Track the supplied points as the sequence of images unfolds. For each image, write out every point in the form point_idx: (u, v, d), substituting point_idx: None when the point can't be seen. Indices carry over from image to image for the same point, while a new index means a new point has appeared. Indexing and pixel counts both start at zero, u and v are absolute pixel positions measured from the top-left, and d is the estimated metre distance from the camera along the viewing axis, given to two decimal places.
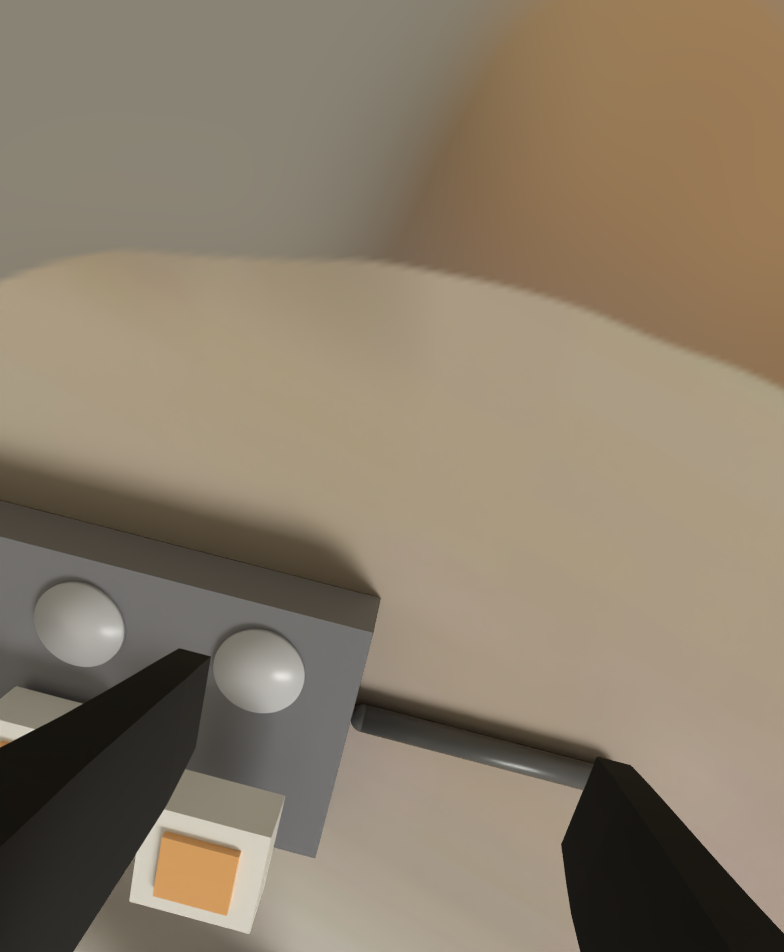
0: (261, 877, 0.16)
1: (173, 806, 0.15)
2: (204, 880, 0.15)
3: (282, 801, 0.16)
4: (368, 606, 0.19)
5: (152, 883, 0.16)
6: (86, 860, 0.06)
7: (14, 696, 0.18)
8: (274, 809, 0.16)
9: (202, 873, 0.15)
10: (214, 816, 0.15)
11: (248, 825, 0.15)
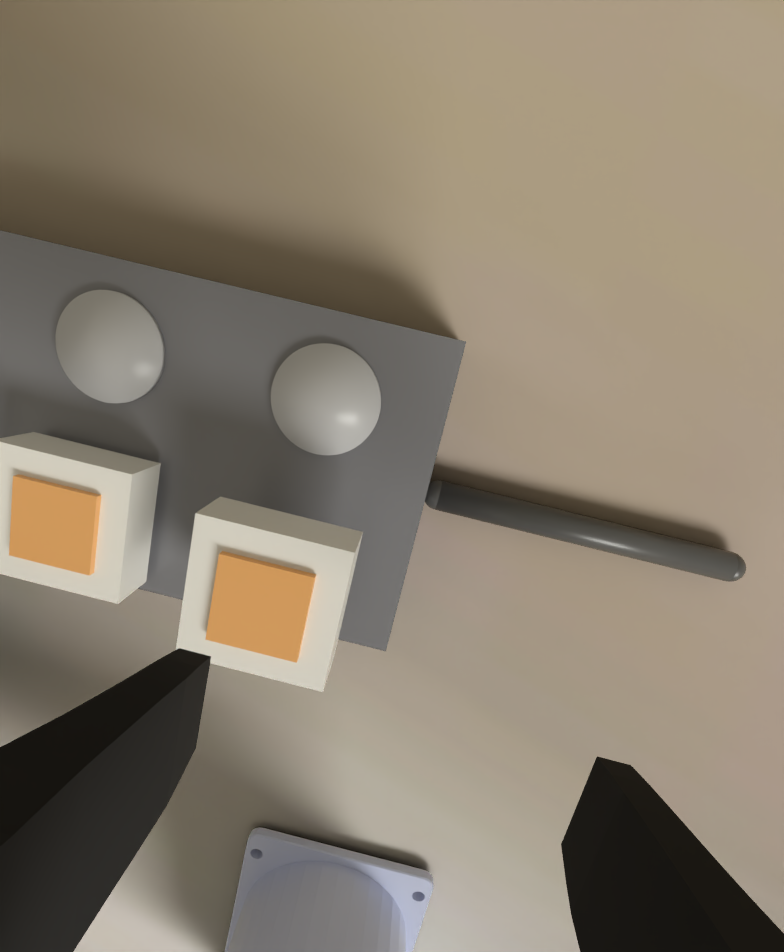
0: (340, 611, 0.13)
1: (232, 519, 0.12)
2: (270, 613, 0.13)
3: (360, 534, 0.13)
4: None
5: (205, 626, 0.13)
6: (85, 860, 0.06)
7: (32, 436, 0.15)
8: (353, 537, 0.13)
9: (268, 603, 0.13)
10: (283, 531, 0.12)
11: (325, 542, 0.12)
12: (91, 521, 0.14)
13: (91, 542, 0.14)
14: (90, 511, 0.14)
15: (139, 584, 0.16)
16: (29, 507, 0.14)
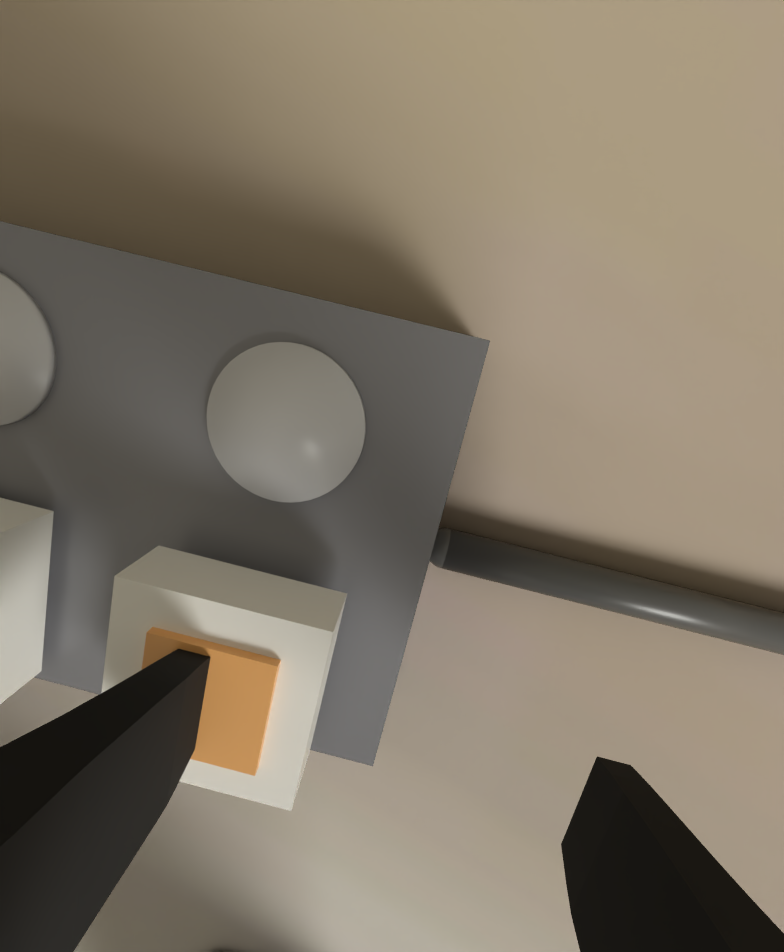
0: (313, 708, 0.09)
1: (166, 584, 0.09)
2: (218, 711, 0.09)
3: (343, 598, 0.10)
4: None
5: None
6: (85, 860, 0.06)
7: None
8: (333, 604, 0.10)
9: (215, 698, 0.09)
10: (235, 600, 0.09)
11: (293, 616, 0.09)
12: None
13: None
14: None
15: (28, 678, 0.11)
16: None
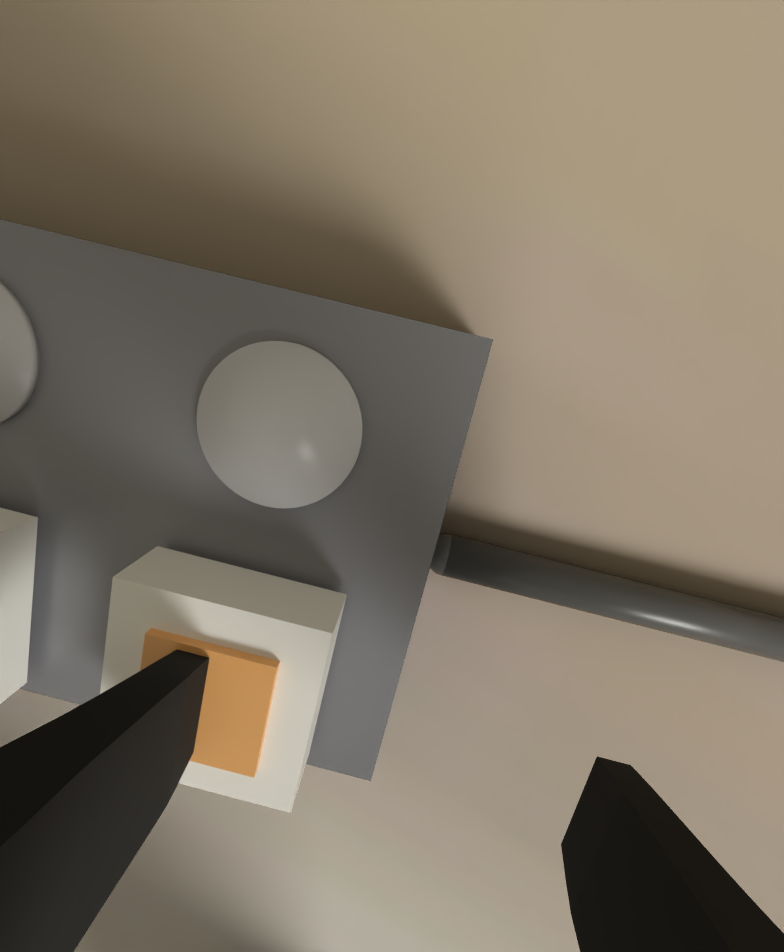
0: (313, 710, 0.09)
1: (164, 585, 0.09)
2: (217, 713, 0.09)
3: (343, 599, 0.10)
4: None
5: None
6: (86, 860, 0.06)
7: None
8: (332, 605, 0.10)
9: (214, 700, 0.09)
10: (234, 601, 0.09)
11: (292, 617, 0.09)
12: None
13: None
14: None
15: (12, 690, 0.11)
16: None
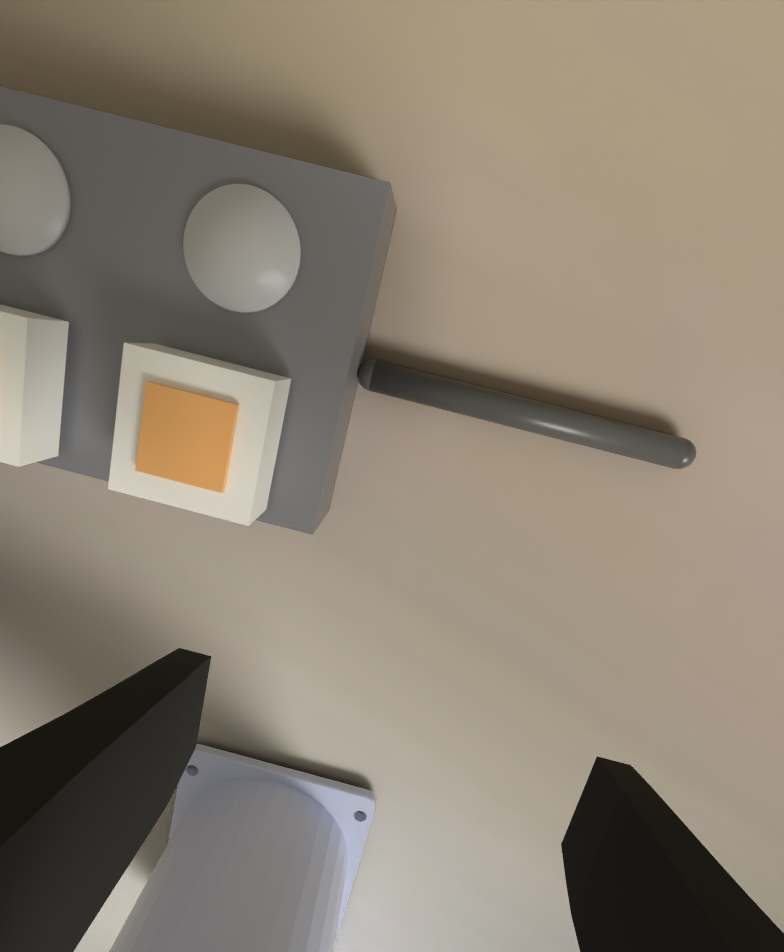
0: (263, 442, 0.13)
1: (159, 351, 0.13)
2: (195, 442, 0.13)
3: (287, 378, 0.14)
4: None
5: (135, 460, 0.14)
6: (85, 861, 0.06)
7: None
8: (279, 377, 0.14)
9: (193, 432, 0.13)
10: (208, 362, 0.13)
11: (248, 373, 0.13)
12: None
13: None
14: None
15: (48, 455, 0.15)
16: None
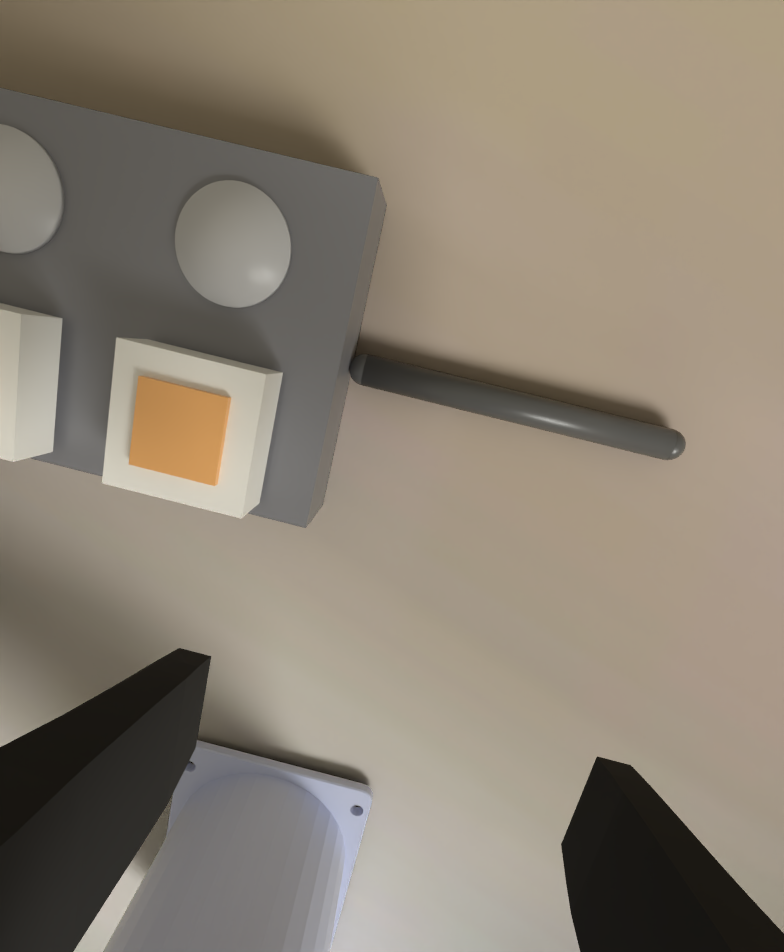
0: (254, 435, 0.13)
1: (152, 345, 0.13)
2: (188, 435, 0.13)
3: (279, 372, 0.14)
4: None
5: (128, 454, 0.14)
6: (85, 860, 0.06)
7: None
8: (270, 371, 0.14)
9: (185, 425, 0.13)
10: (199, 356, 0.13)
11: (239, 366, 0.13)
12: None
13: None
14: None
15: (43, 451, 0.15)
16: None
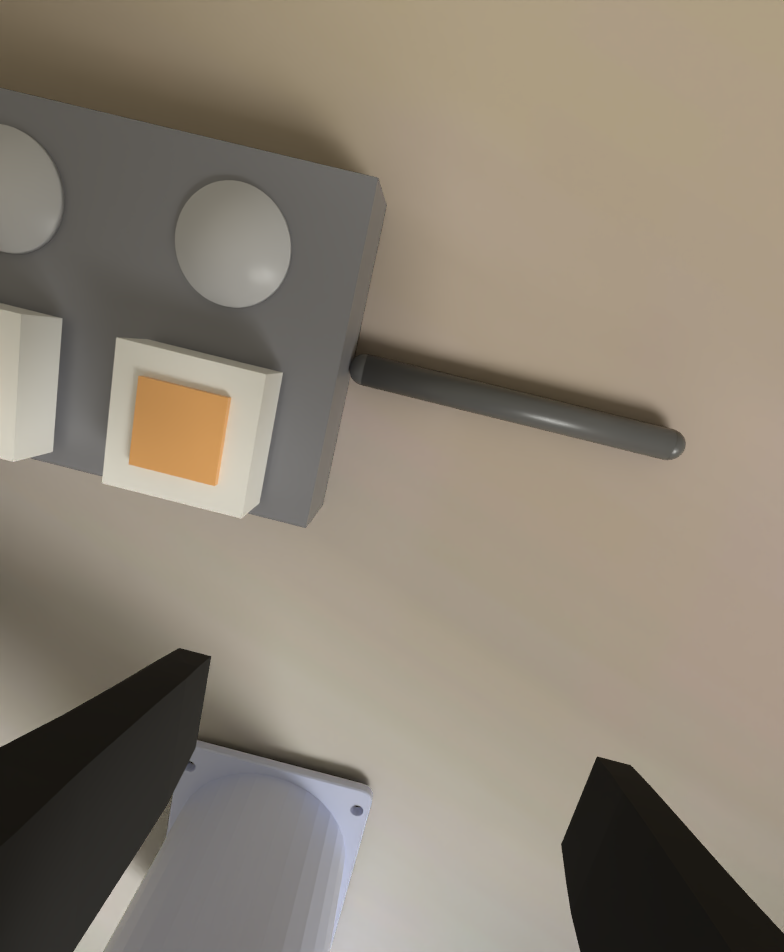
0: (254, 435, 0.13)
1: (152, 345, 0.13)
2: (188, 435, 0.13)
3: (279, 372, 0.14)
4: None
5: (128, 454, 0.14)
6: (85, 860, 0.06)
7: None
8: (270, 371, 0.14)
9: (185, 425, 0.13)
10: (199, 356, 0.13)
11: (239, 366, 0.13)
12: None
13: None
14: None
15: (43, 451, 0.15)
16: None
